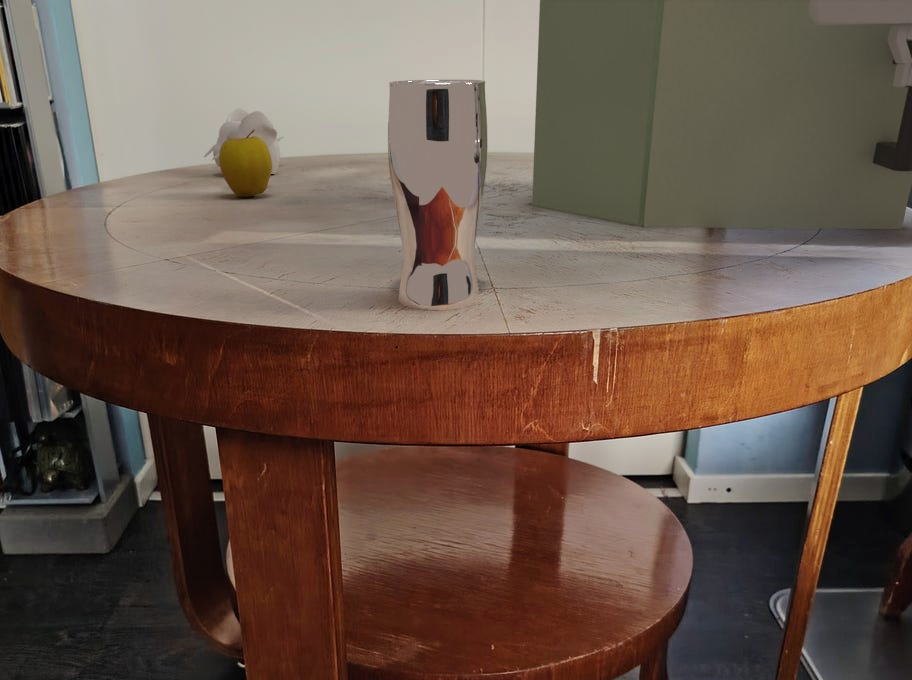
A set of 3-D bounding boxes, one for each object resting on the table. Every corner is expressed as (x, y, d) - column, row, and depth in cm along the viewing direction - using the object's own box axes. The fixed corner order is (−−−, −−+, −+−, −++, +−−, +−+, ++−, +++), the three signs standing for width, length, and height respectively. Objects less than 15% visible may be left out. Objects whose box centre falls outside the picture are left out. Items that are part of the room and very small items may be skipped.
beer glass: (428, 285, 72) (425, 78, 65) (502, 297, 68) (507, 79, 62) (373, 304, 67) (364, 82, 60) (451, 318, 63) (450, 84, 57)
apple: (285, 195, 116) (279, 128, 112) (247, 202, 111) (239, 132, 107) (251, 191, 119) (245, 126, 115) (213, 197, 115) (205, 130, 111)
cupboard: (788, 211, 101) (829, -38, 90) (636, 237, 89) (662, -47, 78) (678, 194, 113) (702, -28, 102) (531, 215, 100) (540, -35, 89)
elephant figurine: (200, 173, 136) (192, 109, 132) (276, 168, 141) (271, 106, 137) (218, 181, 128) (210, 113, 124) (297, 175, 133) (292, 109, 129)
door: (923, 252, 80) (996, -60, 69) (650, 250, 82) (680, -53, 72) (895, 237, 86) (959, -52, 76) (642, 235, 89) (668, -46, 78)
